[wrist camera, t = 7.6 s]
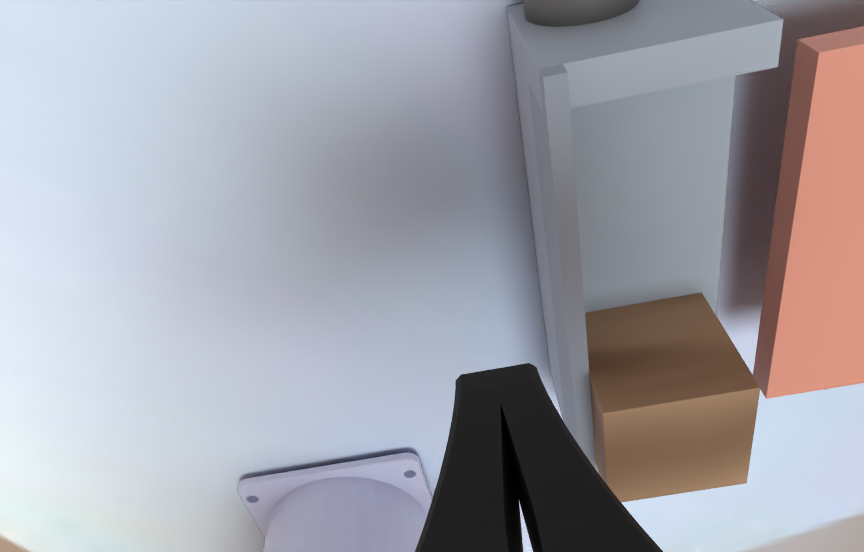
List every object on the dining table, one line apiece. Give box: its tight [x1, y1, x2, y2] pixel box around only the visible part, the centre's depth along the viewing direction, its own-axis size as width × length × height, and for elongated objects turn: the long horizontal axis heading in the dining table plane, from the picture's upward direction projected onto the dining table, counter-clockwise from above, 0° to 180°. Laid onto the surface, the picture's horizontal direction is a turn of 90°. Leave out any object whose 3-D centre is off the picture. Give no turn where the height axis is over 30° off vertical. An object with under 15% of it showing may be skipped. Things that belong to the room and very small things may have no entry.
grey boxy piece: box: [506, 0, 784, 473], centre depth 20 cm, size 16×5×6 cm, turn 11°
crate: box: [585, 292, 760, 502], centre depth 20 cm, size 4×4×4 cm
